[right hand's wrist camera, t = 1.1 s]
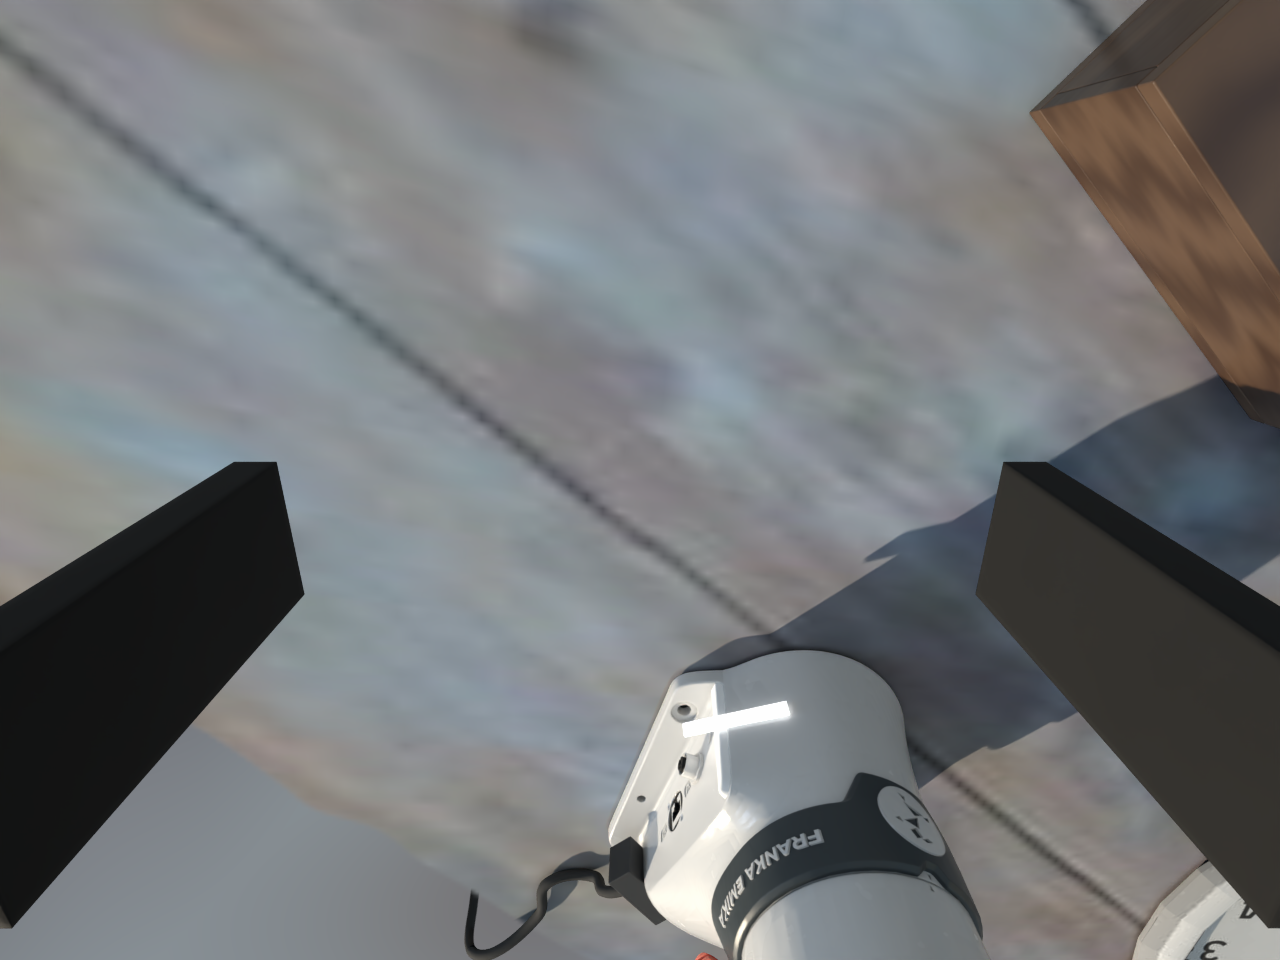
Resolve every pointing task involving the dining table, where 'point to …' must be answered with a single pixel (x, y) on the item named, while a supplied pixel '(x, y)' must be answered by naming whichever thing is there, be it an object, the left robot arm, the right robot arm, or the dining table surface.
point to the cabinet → (1190, 171)
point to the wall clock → (1206, 924)
